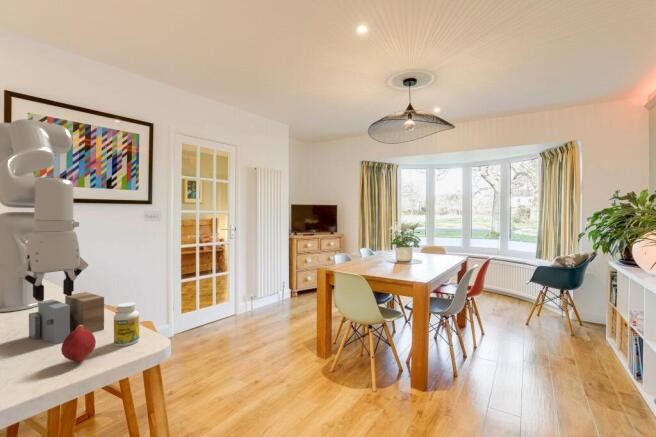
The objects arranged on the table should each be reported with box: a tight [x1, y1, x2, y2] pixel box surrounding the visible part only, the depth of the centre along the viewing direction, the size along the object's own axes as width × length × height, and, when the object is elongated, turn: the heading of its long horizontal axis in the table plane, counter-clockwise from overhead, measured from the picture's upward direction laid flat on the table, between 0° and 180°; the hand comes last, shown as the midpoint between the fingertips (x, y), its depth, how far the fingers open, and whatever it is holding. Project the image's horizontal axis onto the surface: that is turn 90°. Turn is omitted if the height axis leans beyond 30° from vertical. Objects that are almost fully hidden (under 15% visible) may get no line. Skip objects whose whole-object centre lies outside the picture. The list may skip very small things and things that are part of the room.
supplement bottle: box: [113, 301, 140, 347], centre depth 80 cm, size 5×5×10 cm
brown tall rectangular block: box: [64, 291, 105, 334], centre depth 88 cm, size 10×5×9 cm, turn 60°
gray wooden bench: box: [28, 311, 41, 341], centre depth 85 cm, size 4×9×6 cm, turn 150°
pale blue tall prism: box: [37, 299, 71, 346], centre depth 81 cm, size 10×4×9 cm, turn 60°
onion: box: [60, 325, 96, 363], centre depth 69 cm, size 6×6×8 cm
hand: (53, 296), depth 82 cm, fingers open, 5 cm apart
